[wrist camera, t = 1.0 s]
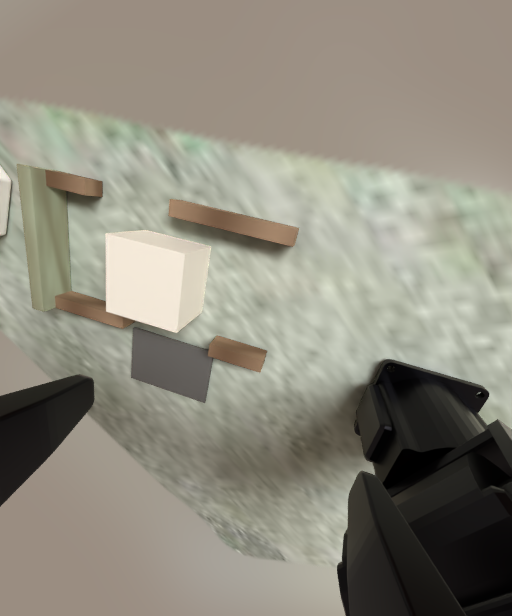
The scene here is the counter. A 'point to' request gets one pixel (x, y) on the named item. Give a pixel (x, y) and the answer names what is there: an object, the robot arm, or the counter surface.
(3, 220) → the jar
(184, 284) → the block
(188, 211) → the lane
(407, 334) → the counter surface
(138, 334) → the mat
